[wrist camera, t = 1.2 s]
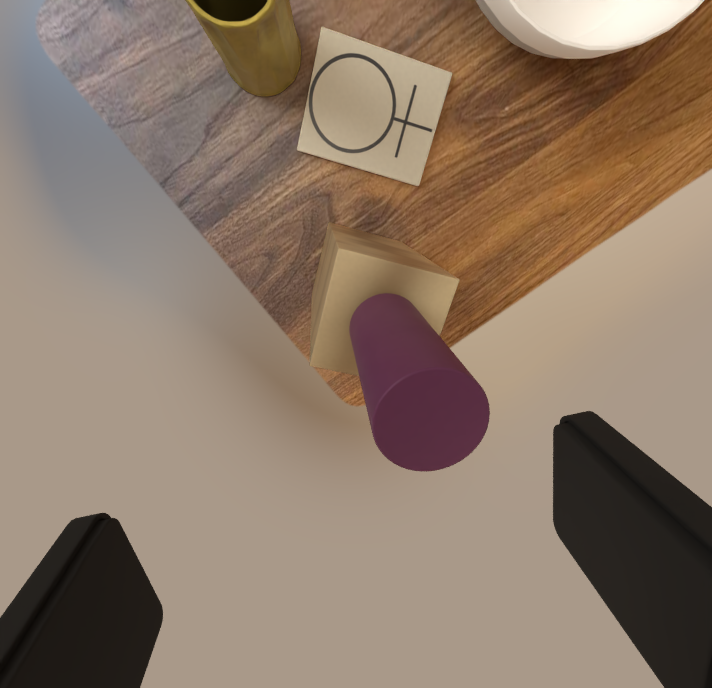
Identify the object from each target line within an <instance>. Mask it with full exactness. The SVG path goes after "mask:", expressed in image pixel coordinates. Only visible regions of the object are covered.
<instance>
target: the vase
mask: <svg viewBox="0 0 712 688" xmlns="http://www.w3.org/2000/svg"><path fill="white" fill-rule="evenodd" d="M185 1H186V2H187V3H188V5H189V6H190V8H191V9H192V11H193V12H194V14H195V16H196V18H197V19H198V21H199V22H200V24H201V26H202V27H203V29H204V30H205V32H206V34H207V35H208V37H209V38H210V40H211V42H212V44H213V45H214V47H215V49H216V50H217V52H218V53H219V55H220V56H221V58H222V60H223V62H224V63H225V66H226V68H227V70H228V73H229V74H230V76H231V77H232V78H233V79H234V81H235V82H236V83H237V84H238V85H239V86H240V87H241V88H243V89H244V90H245V91H247V92H249V93H251V94H254V95H257V96H273V95H277V94H279V93H281V92H282V91H284V90H285V89H286V88H287V87H288V86H289V85H291V83H292V82H293V81H294V80H295V78H296V75H297V73H298V70H299V67H300V63H301V47H300V40H299V38H298V36H297V33H296V30H295V26H294V22H293V16H292V11H291V6H290V3H289V0H185Z"/></svg>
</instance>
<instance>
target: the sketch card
mask: <svg viewBox="0 0 712 688" xmlns="http://www.w3.org/2000/svg"><path fill="white" fill-rule="evenodd" d="M451 77H452V73H451V72H449V71H446V70H443V69H440V68H437V67H435V66H432V65H429V64H426V63H423V62H420V61H418V60H415V59H412V58H409V57H406V56H403V55H401V54H398V53H395V52H392V51H389V50H387V49H384V48H381V47H378V46H375V45H372V44H370V43H367V42H364V41H361V40H358V39H355V38H353V37H350V36H347V35H344V34H341V33H338V32H336V31H333V30H330V29H327V28H324V27H321V31H320V36H319V41H318V46H317V51H316V56H315V61H314V66H313V71H312V76H311V81H310V86H309V91H308V96H307V101H306V106H305V111H304V116H303V121H302V126H301V131H300V136H299V141H298V146H297V151H300V152H303V153H307V154H310V155H313V156H317V157H320V158H323V159H327V160H330V161H334V162H337V163H340V164H344V165H347V166H350V167H354V168H357V169H360V170H364V171H367V172H371V173H374V174H377V175H381V176H384V177H387V178H391V179H394V180H398V181H401V182H404V183H408V184H411V185H414V186H419V184H420V181H421V177H422V174H423V171H424V167H425V164H426V161H427V157H428V154H429V151H430V147H431V144H432V140H433V137H434V134H435V130H436V127H437V124H438V120H439V117H440V114H441V110H442V107H443V103H444V100H445V97H446V93H447V90H448V87H449V83H450V80H451Z"/></svg>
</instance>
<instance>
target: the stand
mask: <svg viewBox="0 0 712 688" xmlns="http://www.w3.org/2000/svg"><path fill="white" fill-rule="evenodd" d="M458 283H459V279H458V278H457V277H455V276H454V275H452V274H450V273H449V272H447V271H446V270H444V269H443V268H441V267H440V266H438V265H437V264H435V263H433V262H432V261H430V260H429V259H427V258H426V257H424V256H423V255H421V254H419V253H418V252H416V251H415V250H413V249H412V248H410V247H409V246H407V245H406V244H404V243H402V242H401V241H398V240H394V239H390V238H386V237H383V236H379V235H375V234H372V233H368V232H364V231H361V230H357V229H353V228H349V227H346V226H342V225H338V224H335V223H331V222H329V223H328V227H327V231H326V236H325V240H324V244H323V248H322V253H321V257H320V261H319V265H318V269H317V274H316V278H315V282H314V286H313V291H312V299H311V331H310V363H309V365H310V366H312V367H317V368H322V369H327V370H332V371H337V372H342V373H347V374H351V375H356V376H359V373H358V369H357V364H356V360H355V356H354V351H353V347H352V343H351V338H350V333H349V326H350V321H351V318H352V315H353V313H354V312H355V310H356V309H357V307H358V306H359V305H360V304H361V303H362V302H364V301H365V300H366V299H368V298H370V297H372V296H375V295H378V294H384V293H392V294H397V295H400V296H402V297H404V298H406V299H407V300H409V301H410V302H411V303H412V304H413V305H414V306H415V307H416V308H417V310H418V311H419V312H420V313H421V315H422V316H423V317H424V318H425V319H426V321H427V322H428V323H429V324H430V325H431V327H432V328H433V329H434V330H435V331H436V333H437V334H438V335H439V336H440V334H441V331H442V328H443V325H444V323H445V320H446V317H447V314H448V311H449V308H450V306H451V303H452V300H453V297H454V294H455V291H456V289H457V286H458Z"/></svg>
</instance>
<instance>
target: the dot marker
mask: <svg viewBox="0 0 712 688" xmlns="http://www.w3.org/2000/svg"><path fill="white" fill-rule="evenodd" d="M349 333H350V338H351V343H352V347H353V351H354V356H355V360H356V364H357V369H358V373H359V377H360V381H361V386H362V390H363V394H364V399H365V403H366V407H367V411H368V416H369V420H370V424H371V429H372V433H373V437H374V440H375V442H376V445H377V446H378V448H379V450H380V451H381V452H382V454H383V455H384V456H385V457H386V458H387V459H389V460H390V461H392V462H393V463H394V464H396V465H398V466H400V467H403V468H406V469H410V470H414V471H435V470H439V469H443V468H446V467H449V466H451V465H454V464H456V463H457V462H459V461H461V460H463V459H464V458H465V457H467V456H468V455H469V454H470V453H471V452H472V451H473V450H474V449H475V448H476V447H477V446H478V445H479V443H480V442H481V440H482V438H483V436H484V435H485V433H486V430H487V427H488V422H489V414H490V411H489V403H488V399H487V397H486V394H485V392H484V390H483V389H482V387H481V386H480V385H479V383H478V382H477V381H476V380H475V379H474V378H473V376H472V375H471V374H470V373H469V371H468V370H467V369H466V368H465V366H464V365H463V364H462V363H461V362H460V361H459V359H458V358H457V357H456V356H455V354H454V353H453V352H452V351H451V350H450V348H449V347H448V346H447V345H446V344H445V342H444V341H443V340H442V339H441V337H440V336H439V335H438V334H437V333H436V331H435V330H434V329H433V328H432V327H431V325H430V324H429V323H428V322H427V321H426V319H425V318H424V317H423V316H422V315H421V313H420V312H419V311H418V310H417V308H416V307H415V306H414V305H413V304H412V303H411V302H410V301H409V300H407V299H406V298H404V297H402V296H400V295H397V294H392V293H384V294H378V295H375V296H372V297H370V298H368V299H366V300H365V301H364V302H362V303H361V304H360V305H359V306H358V307H357V309H356V310H355V312H354V313H353V315H352V318H351V321H350V326H349Z"/></svg>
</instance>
